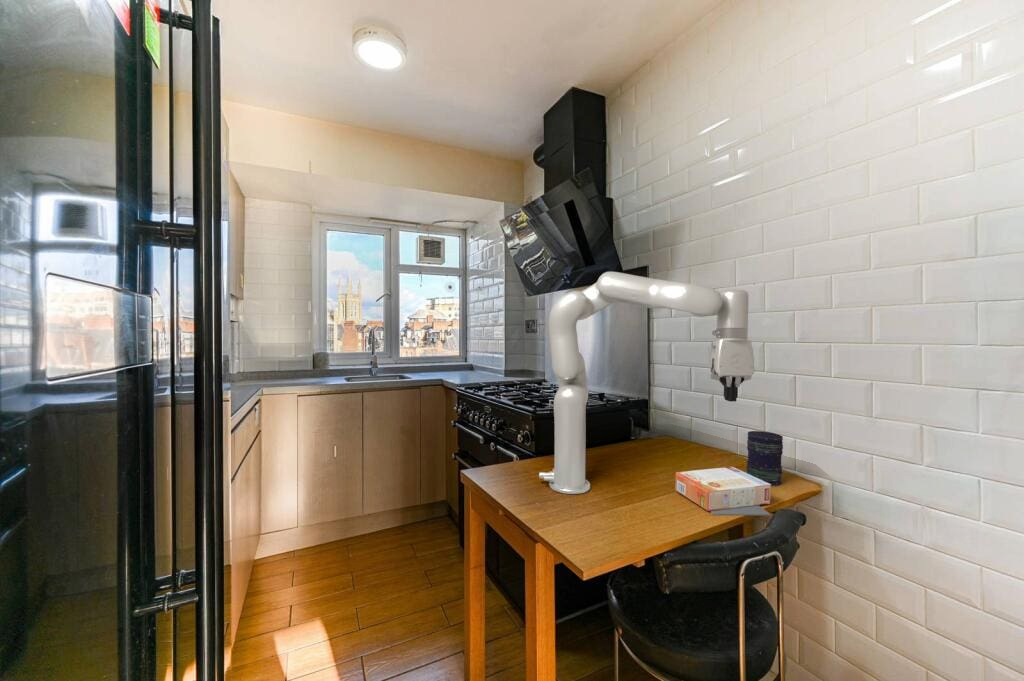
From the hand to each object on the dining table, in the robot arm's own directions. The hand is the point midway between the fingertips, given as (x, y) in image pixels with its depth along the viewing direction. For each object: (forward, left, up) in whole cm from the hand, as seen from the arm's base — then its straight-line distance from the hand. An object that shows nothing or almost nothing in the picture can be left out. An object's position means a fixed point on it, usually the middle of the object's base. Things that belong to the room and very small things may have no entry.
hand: (730, 400), depth 112 cm
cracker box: (-11, +1, -26) cm, 28 cm away
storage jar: (+21, +18, -29) cm, 40 cm away
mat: (0, 0, -29) cm, 29 cm away
